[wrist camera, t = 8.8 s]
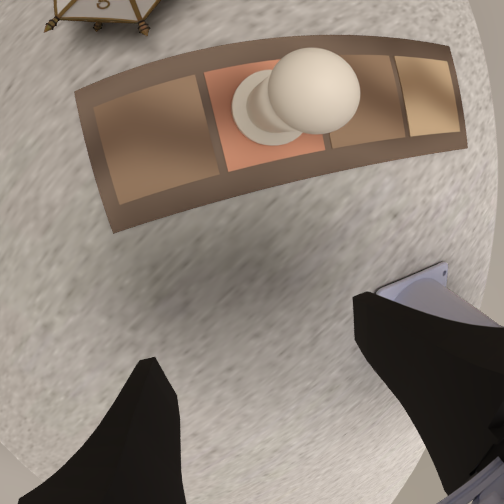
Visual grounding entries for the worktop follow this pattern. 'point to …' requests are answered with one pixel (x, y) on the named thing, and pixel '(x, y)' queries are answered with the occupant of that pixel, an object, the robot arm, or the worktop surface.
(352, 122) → the board
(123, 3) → the game die
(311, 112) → the pawn
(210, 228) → the worktop surface
